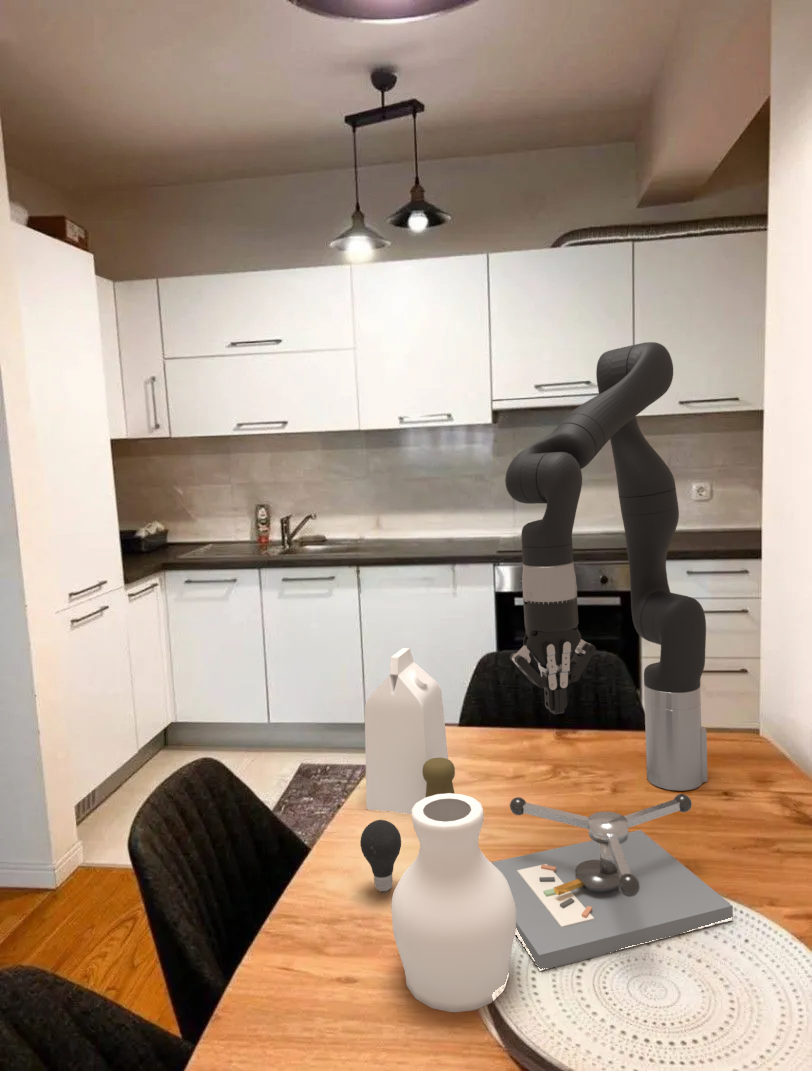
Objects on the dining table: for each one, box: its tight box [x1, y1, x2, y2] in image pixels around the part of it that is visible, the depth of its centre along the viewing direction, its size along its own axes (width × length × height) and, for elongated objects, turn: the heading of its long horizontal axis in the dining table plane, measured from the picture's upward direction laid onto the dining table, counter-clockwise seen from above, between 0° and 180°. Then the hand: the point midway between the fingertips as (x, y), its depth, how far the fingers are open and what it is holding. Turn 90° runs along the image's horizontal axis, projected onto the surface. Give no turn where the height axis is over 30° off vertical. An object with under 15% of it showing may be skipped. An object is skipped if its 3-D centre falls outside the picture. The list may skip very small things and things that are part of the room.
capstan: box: [509, 793, 693, 897], centre depth 99 cm, size 23×25×8 cm
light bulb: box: [360, 819, 402, 894], centre depth 103 cm, size 6×6×10 cm
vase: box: [391, 793, 517, 1013], centre depth 85 cm, size 14×14×20 cm
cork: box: [422, 758, 456, 797], centre depth 119 cm, size 6×6×11 cm
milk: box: [364, 647, 449, 815], centre depth 129 cm, size 12×12×26 cm
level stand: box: [490, 829, 734, 969], centre depth 98 cm, size 26×20×2 cm
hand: (556, 712), depth 108 cm, fingers closed
